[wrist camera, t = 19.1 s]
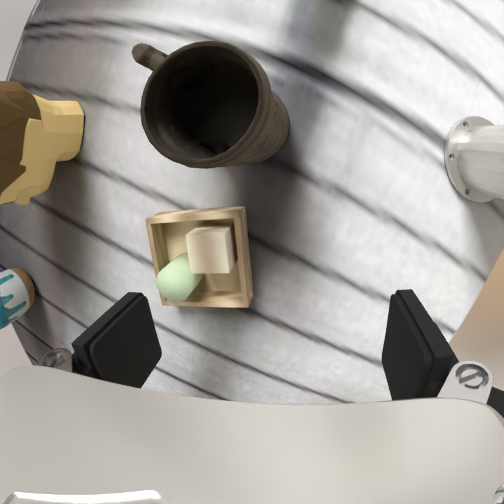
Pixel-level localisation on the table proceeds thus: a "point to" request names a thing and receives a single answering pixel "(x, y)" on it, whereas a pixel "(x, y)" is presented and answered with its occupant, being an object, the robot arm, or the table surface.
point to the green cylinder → (177, 279)
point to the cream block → (212, 248)
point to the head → (34, 140)
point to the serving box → (174, 243)
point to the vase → (14, 295)
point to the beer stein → (210, 106)
